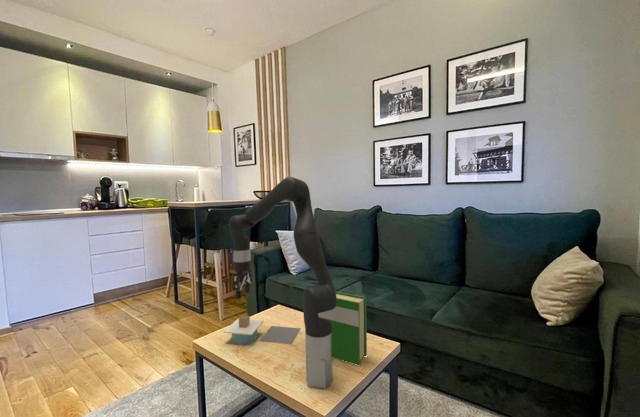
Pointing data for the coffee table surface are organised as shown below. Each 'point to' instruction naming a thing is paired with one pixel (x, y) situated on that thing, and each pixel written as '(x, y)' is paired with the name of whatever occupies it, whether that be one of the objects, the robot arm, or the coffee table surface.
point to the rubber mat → (280, 335)
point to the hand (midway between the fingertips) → (243, 295)
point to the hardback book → (348, 327)
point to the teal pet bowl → (244, 338)
